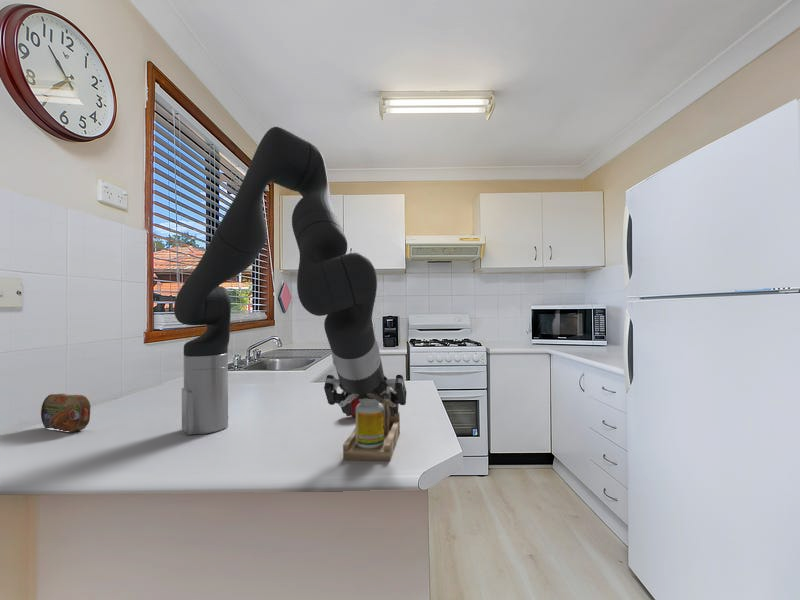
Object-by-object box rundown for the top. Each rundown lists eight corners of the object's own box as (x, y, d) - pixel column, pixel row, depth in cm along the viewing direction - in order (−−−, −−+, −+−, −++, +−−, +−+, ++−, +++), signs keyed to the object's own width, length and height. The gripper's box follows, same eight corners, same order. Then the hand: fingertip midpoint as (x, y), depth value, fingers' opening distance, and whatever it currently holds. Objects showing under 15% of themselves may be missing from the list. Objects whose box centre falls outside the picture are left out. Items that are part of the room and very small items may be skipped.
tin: (39, 428, 93) (39, 393, 93) (54, 425, 96) (55, 390, 96) (78, 435, 88) (78, 397, 88) (93, 431, 90) (93, 394, 91)
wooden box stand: (390, 460, 69) (388, 395, 70) (343, 459, 70) (342, 395, 71) (399, 432, 85) (398, 379, 85) (361, 431, 86) (360, 379, 86)
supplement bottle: (351, 442, 75) (351, 392, 75) (377, 437, 77) (377, 389, 77) (361, 451, 70) (361, 397, 70) (388, 446, 72) (388, 394, 73)
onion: (368, 414, 101) (367, 383, 101) (363, 420, 95) (363, 387, 95) (346, 413, 101) (345, 383, 102) (340, 420, 96) (340, 387, 96)
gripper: (402, 341, 66) (409, 395, 77) (319, 342, 67) (338, 395, 78) (399, 378, 60) (407, 430, 71) (310, 378, 62) (331, 429, 73)
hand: (371, 412), depth 75 cm, fingers open, 8 cm apart
